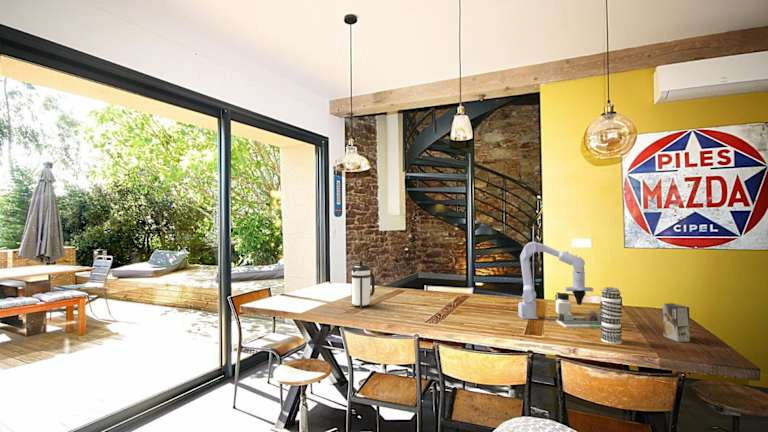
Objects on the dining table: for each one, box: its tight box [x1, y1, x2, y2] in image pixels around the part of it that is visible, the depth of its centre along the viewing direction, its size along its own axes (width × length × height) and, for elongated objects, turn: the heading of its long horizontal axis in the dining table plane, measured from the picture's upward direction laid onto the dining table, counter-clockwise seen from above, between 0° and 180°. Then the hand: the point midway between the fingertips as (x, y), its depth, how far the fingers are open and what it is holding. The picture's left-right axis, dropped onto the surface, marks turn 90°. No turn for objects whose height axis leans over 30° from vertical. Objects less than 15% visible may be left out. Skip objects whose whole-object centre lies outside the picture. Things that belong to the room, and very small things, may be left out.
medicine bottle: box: [555, 292, 572, 315], centre depth 235 cm, size 7×7×12 cm
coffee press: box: [350, 260, 376, 310], centre depth 256 cm, size 17×16×30 cm
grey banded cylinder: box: [599, 286, 623, 345], centre depth 182 cm, size 9×9×25 cm
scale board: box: [555, 310, 602, 329], centre depth 210 cm, size 20×12×6 cm, turn 89°
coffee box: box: [662, 302, 691, 343], centre depth 185 cm, size 9×6×16 cm
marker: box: [584, 312, 595, 321], centre depth 210 cm, size 3×5×4 cm, turn 179°
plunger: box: [559, 312, 577, 322], centre depth 210 cm, size 8×5×4 cm, turn 89°
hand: (579, 304), depth 212 cm, fingers closed
